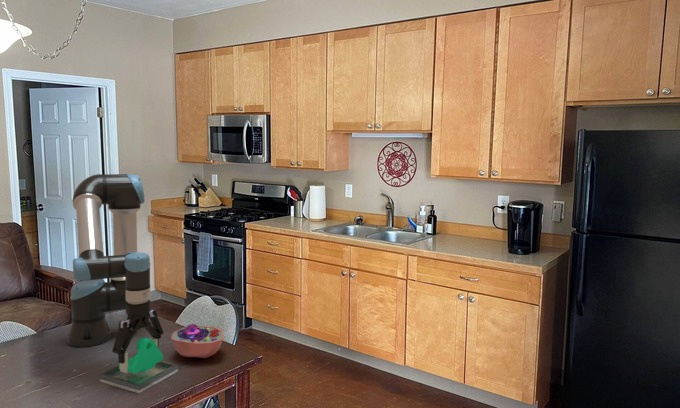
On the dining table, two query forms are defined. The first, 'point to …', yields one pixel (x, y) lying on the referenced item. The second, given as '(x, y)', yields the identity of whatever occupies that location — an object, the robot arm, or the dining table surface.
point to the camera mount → (144, 356)
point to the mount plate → (139, 377)
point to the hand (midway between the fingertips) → (139, 364)
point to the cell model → (197, 341)
